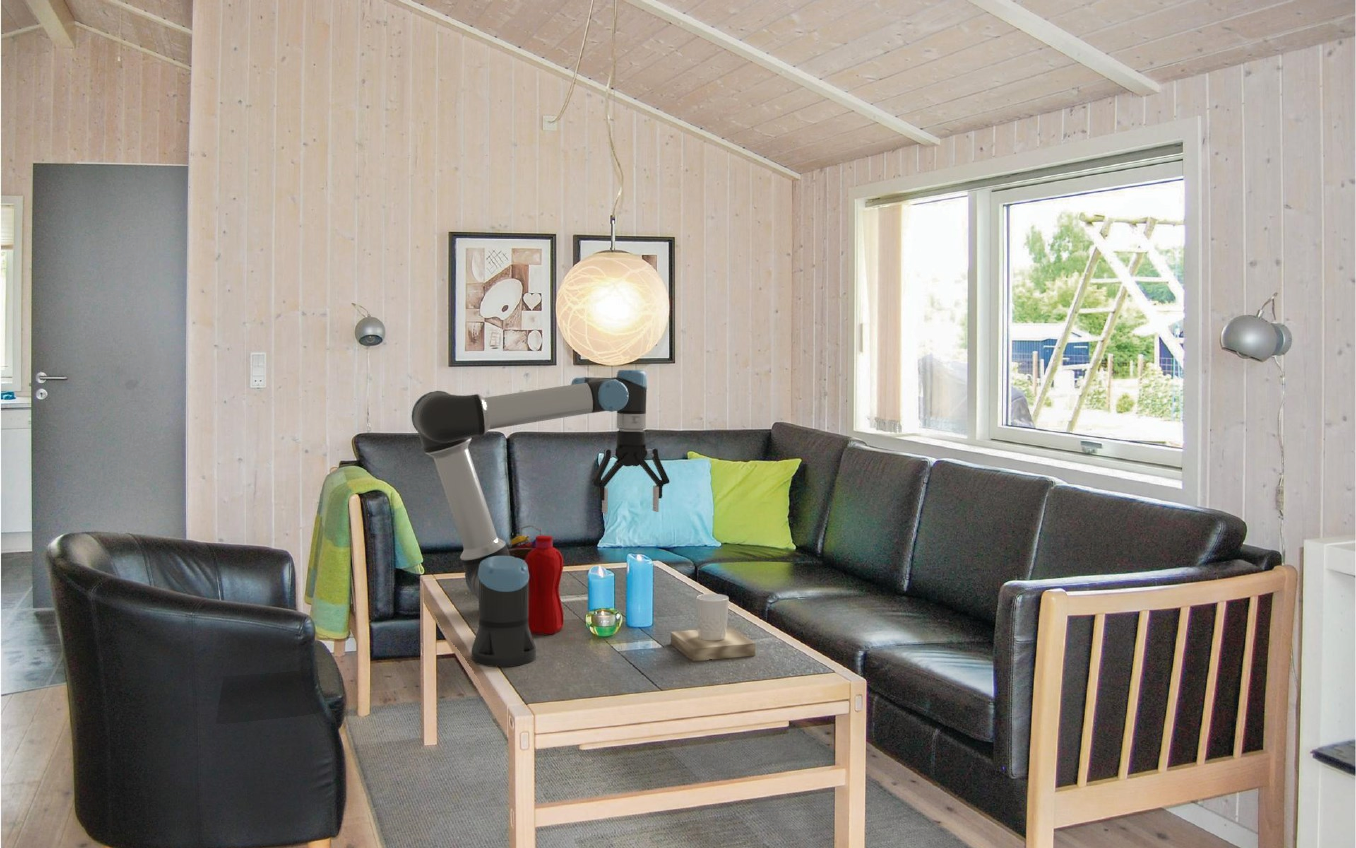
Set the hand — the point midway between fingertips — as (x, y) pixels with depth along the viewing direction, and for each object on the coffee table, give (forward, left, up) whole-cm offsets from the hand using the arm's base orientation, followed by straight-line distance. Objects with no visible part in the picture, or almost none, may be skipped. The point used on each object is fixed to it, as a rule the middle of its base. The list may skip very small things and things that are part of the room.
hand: (630, 512), depth 286 cm
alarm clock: (-15, +53, -32) cm, 64 cm away
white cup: (+14, -22, -29) cm, 39 cm away
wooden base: (+15, -22, -31) cm, 41 cm away
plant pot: (-21, +30, -32) cm, 49 cm away
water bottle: (-20, +8, -32) cm, 39 cm away
